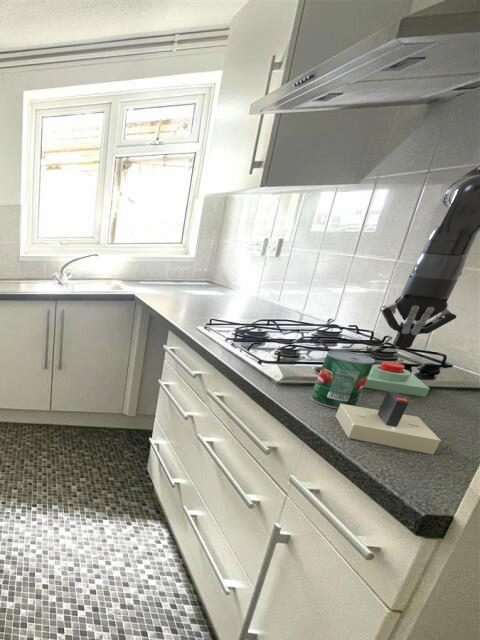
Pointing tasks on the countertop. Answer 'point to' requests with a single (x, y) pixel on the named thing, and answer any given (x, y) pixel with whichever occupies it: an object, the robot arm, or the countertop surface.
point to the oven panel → (386, 429)
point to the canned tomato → (341, 378)
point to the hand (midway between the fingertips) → (400, 348)
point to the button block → (395, 382)
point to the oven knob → (392, 408)
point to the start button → (392, 367)
